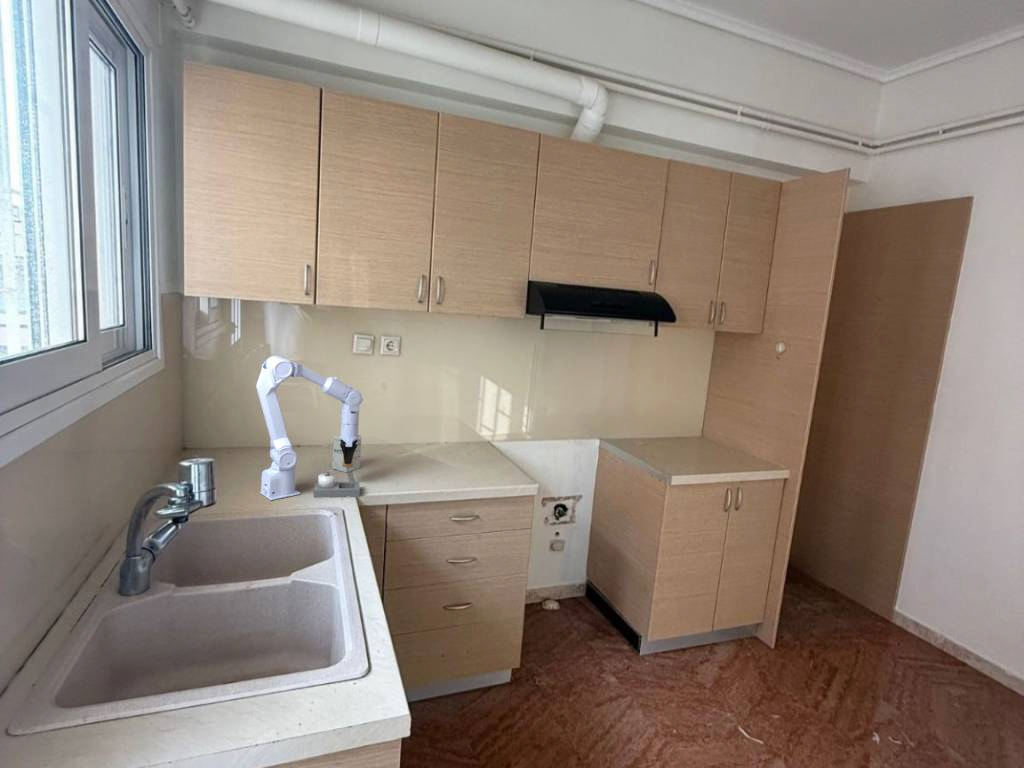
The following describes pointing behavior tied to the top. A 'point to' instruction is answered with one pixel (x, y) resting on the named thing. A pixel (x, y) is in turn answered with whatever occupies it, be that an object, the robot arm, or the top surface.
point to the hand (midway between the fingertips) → (347, 461)
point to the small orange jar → (347, 464)
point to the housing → (335, 487)
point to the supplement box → (339, 456)
